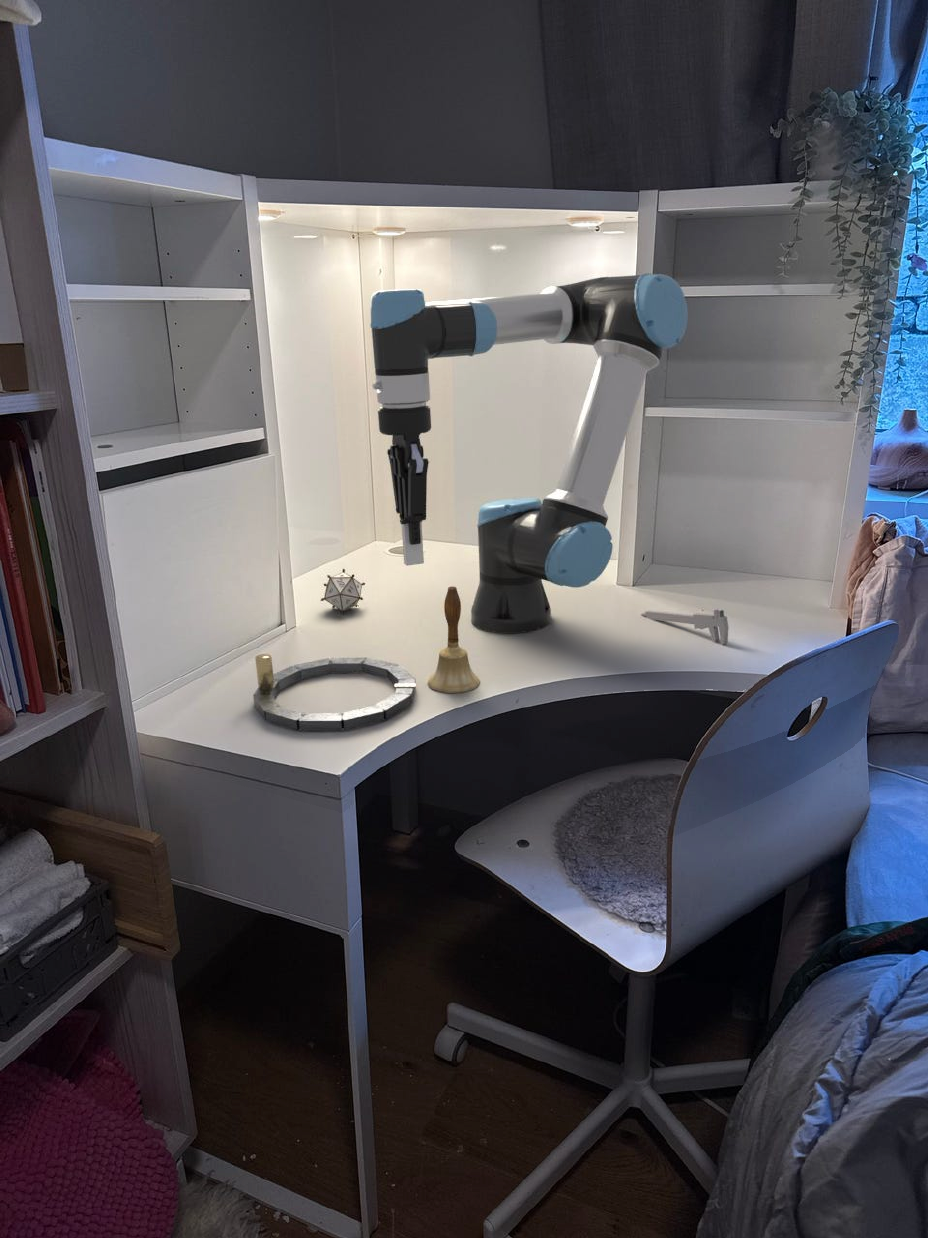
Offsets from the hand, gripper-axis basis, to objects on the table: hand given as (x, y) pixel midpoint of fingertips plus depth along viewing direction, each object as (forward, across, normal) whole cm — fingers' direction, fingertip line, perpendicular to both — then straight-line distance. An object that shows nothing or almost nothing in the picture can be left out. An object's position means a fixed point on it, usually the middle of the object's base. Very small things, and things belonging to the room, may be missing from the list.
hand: (414, 563), depth 135 cm
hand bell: (+20, +2, +5) cm, 21 cm away
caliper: (+21, -5, +51) cm, 56 cm away
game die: (+20, -41, -3) cm, 46 cm away
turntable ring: (+20, 0, -14) cm, 24 cm away
